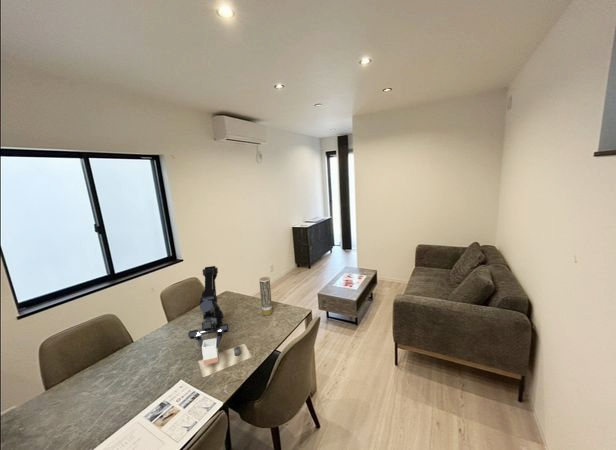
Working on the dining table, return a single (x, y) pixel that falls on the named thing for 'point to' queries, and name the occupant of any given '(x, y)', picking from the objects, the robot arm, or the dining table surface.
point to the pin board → (225, 360)
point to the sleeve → (210, 351)
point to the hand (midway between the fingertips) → (209, 349)
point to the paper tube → (265, 295)
